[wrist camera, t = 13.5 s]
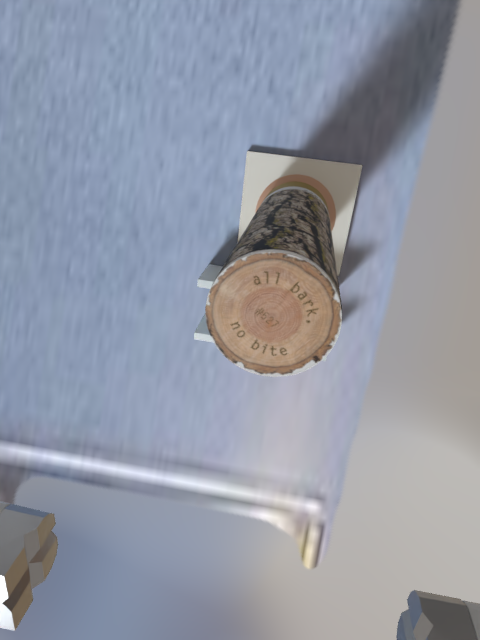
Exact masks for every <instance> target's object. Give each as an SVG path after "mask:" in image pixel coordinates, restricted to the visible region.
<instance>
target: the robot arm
mask: <svg viewBox="0 0 480 640" xmlns="http://www.w3.org/2000/svg"><path fill="white" fill-rule="evenodd" d="M55 524H56V523H55V517H54V514H52V513H48V512H44V511H40V510H35V509H31V508H27V507H22V506H18V505H14V504H10V503H6V502H1V501H0V628H4V629H9V630H14V631H15V630H16V628H17V626H18V625H19V623H20V621H21V620H22V618H23V616H24V615H25V613H26V611H27V610H28V608H29V606H30V605H31V603H32V601H33V593H32V589H33V588H34V587H36V586H37V585H39V584H40V583H42V582H43V581H44V580H45V579H46V577H47V575H48V574H49V572H50V570H51V568H52V565H53V563H54V560H55V557H56V554H57V547H58V542H57V537H56V535H55V534H54V533H53V532H52V531H51V530H52V529H53V527H54V526H55ZM407 601H408V606H409V609H408V610H406V611H404V612H402V613H401V616H400V619H399V622H398V628H397V640H480V604H478V603H473V602H467V601H462V600H461V599H457V598H452V597H446V596H442V595H436V594H432V593H426V592H421V591H416V590H414V591H412V592H411V593H410V595H409V597H408V599H407Z"/></svg>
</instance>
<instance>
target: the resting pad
mask: <svg viewBox="0 0 480 640" xmlns="http://www.w3.org/2000/svg"><path fill="white" fill-rule="evenodd" d="M361 170H362V165H359V164H351V163H343V162H334V161H326V160H318V159H310V158H302V157H294V156H286V155H278V154H270V153H262V152H254V151H247V157H246V167H245V176H244V186H243V196H242V205H241V215H240V224H239V234H238V241H239V240H240V238H241V236H242V235H243V233H244V231H245V230H246V228H247V226H248V225H249V223H250V222H251V220H252V218H253V217H254V215H255V213H256V212H257V210H258V208H259V207H260V205H261V204H262V202H263V201H264V199H265V198H266V196H267V195H268V194H269V192H270V191H272V190H273V189H274V188H275V187H277V186H279V185H281V184H283V183H287V182H294V181H295V182H303V183H306V184H309V185H311V186H313V187H314V188H316V189H317V190H318V191H319V192H320V193H321V194H322V196H323V197H324V199H325V201H326V203H327V206H328V211H329V217H330V224H331V231H332V239H333V246H334V254H335V261H336V268H337V275H338V276H339V273H340V269H341V264H342V259H343V255H344V250H345V245H346V241H347V236H348V231H349V227H350V222H351V217H352V213H353V208H354V203H355V198H356V194H357V189H358V184H359V180H360V175H361Z"/></svg>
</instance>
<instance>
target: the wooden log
mask: <svg viewBox="0 0 480 640" xmlns="http://www.w3.org/2000/svg"><path fill="white" fill-rule="evenodd" d="M206 323H207V327H208V331H209V333H210V336H211V338H212V340H213V342H214V343H215V345H216V347H217V348H218V349H219V351H220V352H221V353H222V354H223V355H224V356H225V357H226V358H227V359H228V360H229V361H231V362H232V363H233V364H235V365H237V366H238V367H240V368H242V369H244V370H246V371H248V372H251V373H254V374H257V375H262V376H269V377H284V376H291V375H295V374H299V373H301V372H304V371H306V370H308V369H310V368H312V367H314V366H315V365H317V364H318V363H319V362H321V361H322V360H323V359H324V358H325V357H326V356H327V355H328V354H329V352H330V351H331V350H332V348H333V347H334V345H335V343H336V341H337V339H338V336H339V333H340V329H341V323H342V306H341V298H340V291H339V283H338V276H337V268H336V261H335V254H334V246H333V239H332V231H331V224H330V217H329V211H328V206H327V203H326V201H325V199H324V197H323V196H322V194H321V193H320V192H319V191H318V190H317V189H316V188H314V187H313V186H311V185H309V184H306V183H303V182H295V181H294V182H287V183H283V184H281V185H279V186H277V187H275V188H274V189H273V190H272V191H270V192H269V194H268V195H267V196H266V198H265V199H264V201H263V202H262V204H261V205H260V207H259V208H258V210H257V212H256V213H255V215H254V217H253V218H252V220H251V222H250V223H249V225H248V226H247V228H246V230H245V231H244V233H243V235H242V236H241V238H240V240H239V241H238V243H237V244H236V246H235V248H234V249H233V251H232V253H231V254H230V256H229V258H228V259H227V261H226V262H225V264H224V266H223V267H222V269H221V271H220V272H219V274H218V276H217V277H216V279H215V280H214V282H213V284H212V287H211V289H210V291H209V294H208V297H207V302H206Z"/></svg>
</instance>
